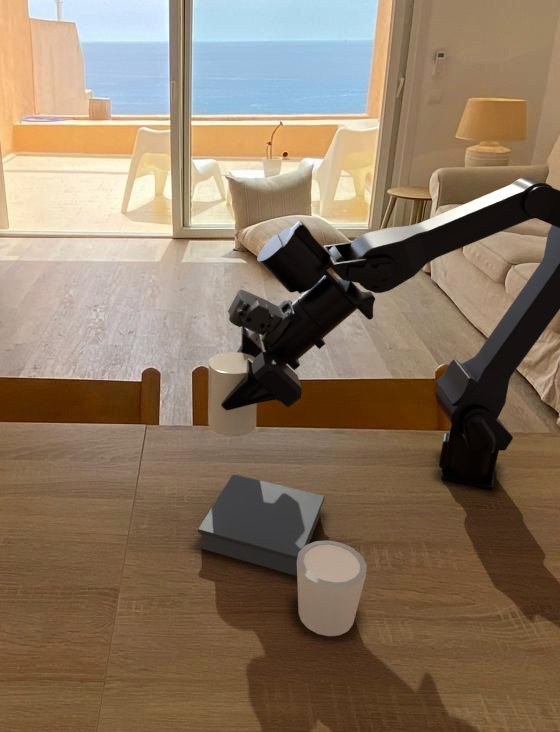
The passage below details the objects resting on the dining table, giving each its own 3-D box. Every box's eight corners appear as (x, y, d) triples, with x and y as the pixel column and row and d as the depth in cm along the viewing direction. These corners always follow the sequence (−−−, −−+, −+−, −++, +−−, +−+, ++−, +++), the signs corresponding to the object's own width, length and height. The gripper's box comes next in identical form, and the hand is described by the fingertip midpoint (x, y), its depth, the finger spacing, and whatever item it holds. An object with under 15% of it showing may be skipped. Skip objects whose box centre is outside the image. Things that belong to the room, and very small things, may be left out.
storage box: (322, 515, 87) (324, 495, 85) (298, 578, 77) (299, 557, 75) (232, 492, 91) (232, 473, 90) (197, 549, 81) (197, 529, 80)
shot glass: (355, 592, 75) (361, 541, 72) (364, 643, 68) (372, 589, 66) (290, 588, 75) (294, 537, 72) (294, 638, 69) (298, 584, 66)
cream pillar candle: (266, 423, 92) (269, 362, 88) (233, 441, 88) (235, 378, 84) (230, 406, 96) (232, 347, 93) (198, 423, 92) (198, 362, 89)
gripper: (261, 249, 92) (179, 327, 97) (277, 299, 75) (177, 389, 80) (317, 305, 95) (234, 377, 100) (344, 364, 78) (243, 447, 83)
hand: (222, 394), depth 91 cm, fingers closed on cream pillar candle, 6 cm apart
